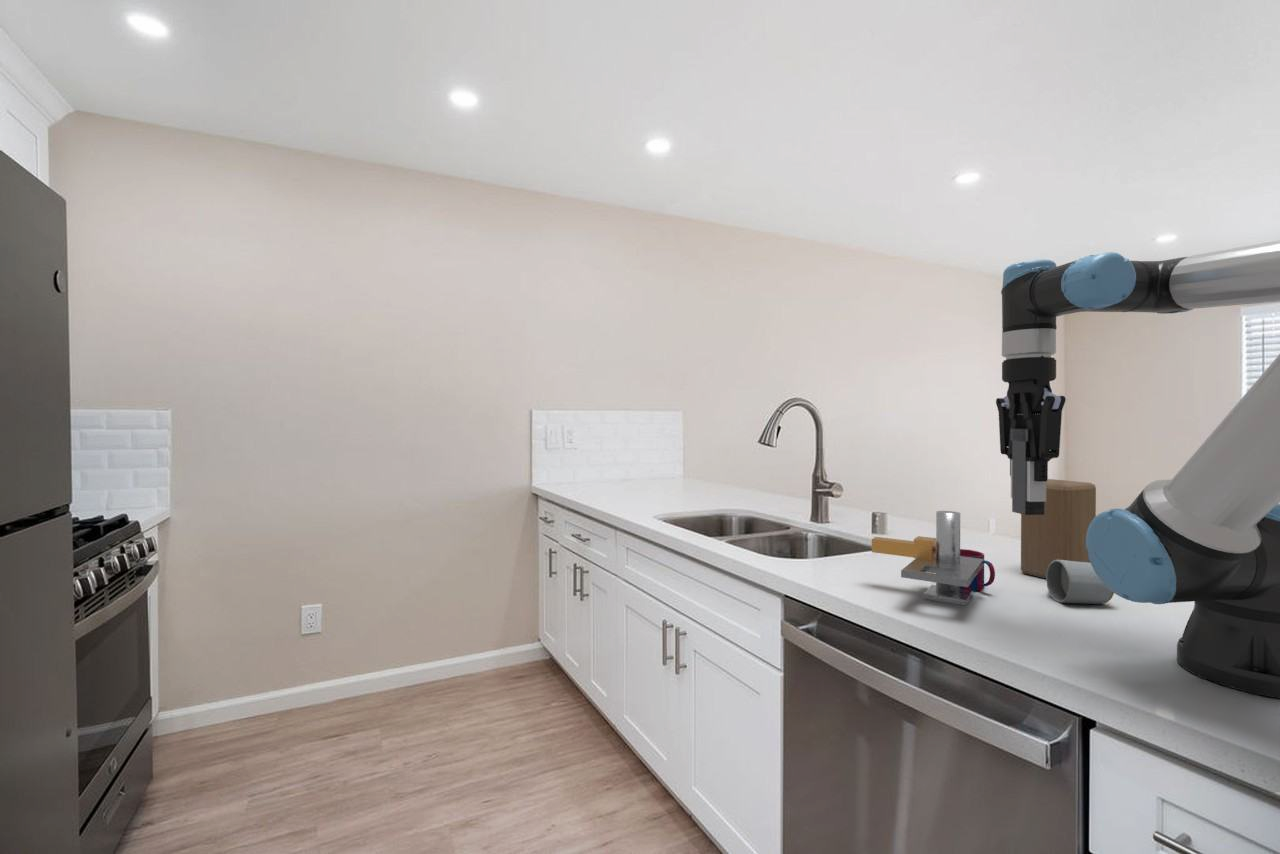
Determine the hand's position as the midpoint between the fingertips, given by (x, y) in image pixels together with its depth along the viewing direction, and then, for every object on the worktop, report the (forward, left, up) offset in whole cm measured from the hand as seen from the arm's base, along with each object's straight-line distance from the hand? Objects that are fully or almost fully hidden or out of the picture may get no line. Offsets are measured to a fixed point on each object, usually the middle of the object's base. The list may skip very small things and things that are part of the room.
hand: (1028, 499), depth 99 cm
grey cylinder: (+10, -16, -21) cm, 28 cm away
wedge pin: (0, 0, -2) cm, 2 cm away
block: (+26, -25, -20) cm, 41 cm away
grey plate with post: (+13, +12, -20) cm, 27 cm away
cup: (+18, -2, -21) cm, 27 cm away
